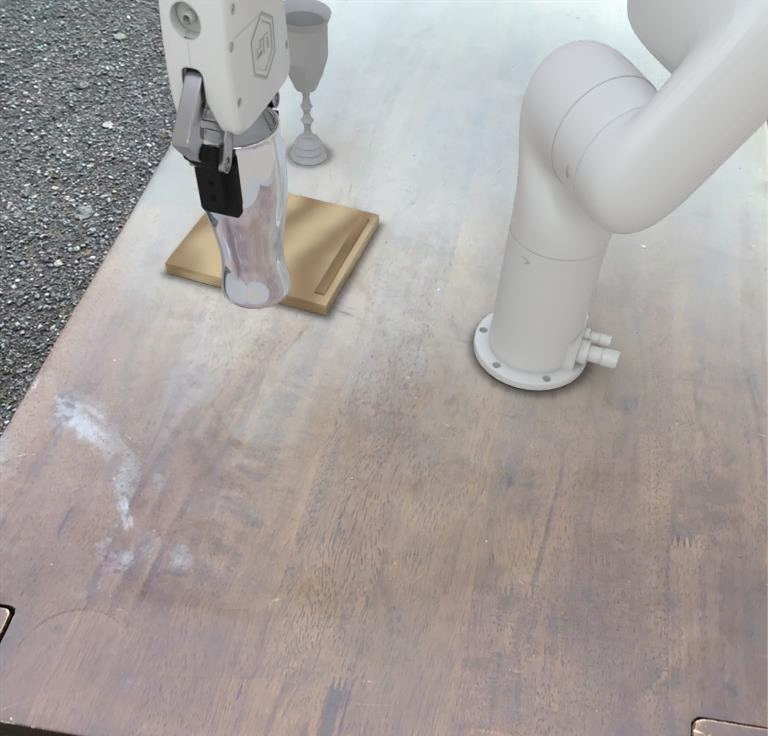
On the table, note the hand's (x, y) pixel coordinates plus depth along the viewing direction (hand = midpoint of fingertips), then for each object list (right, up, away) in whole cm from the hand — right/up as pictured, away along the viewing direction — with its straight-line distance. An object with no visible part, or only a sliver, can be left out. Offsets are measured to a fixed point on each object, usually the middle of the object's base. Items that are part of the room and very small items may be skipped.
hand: (243, 182), depth 63 cm
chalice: (+1, +23, +47) cm, 52 cm away
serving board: (-2, +6, +35) cm, 36 cm away
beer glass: (0, -6, +8) cm, 10 cm away
